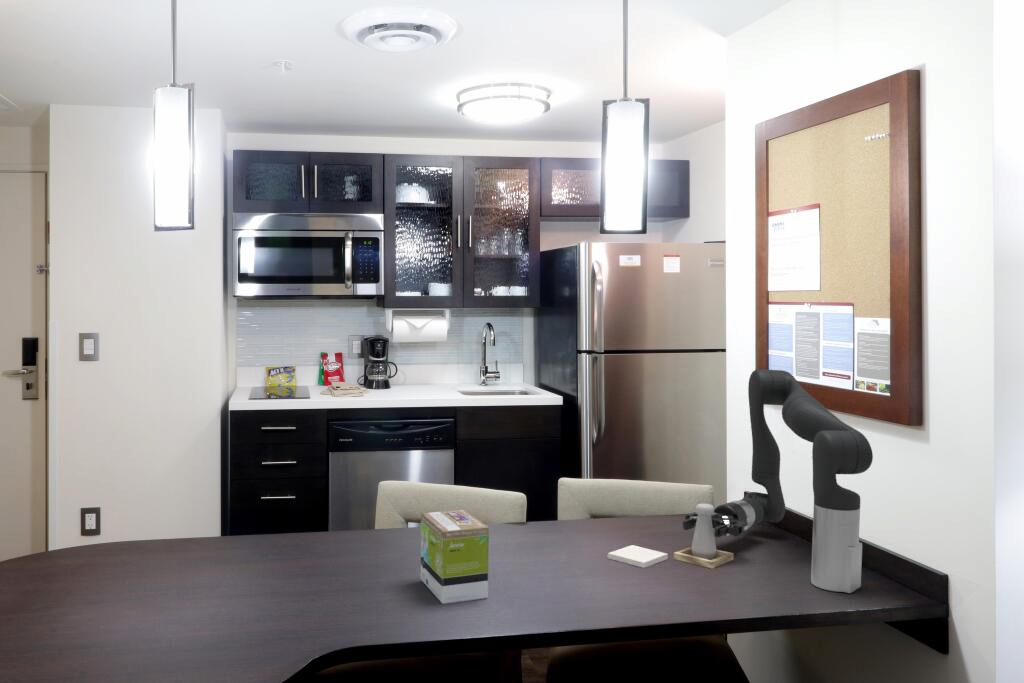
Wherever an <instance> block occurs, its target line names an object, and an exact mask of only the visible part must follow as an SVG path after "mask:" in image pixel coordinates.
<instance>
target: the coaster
mask: <svg viewBox="0 0 1024 683" xmlns="http://www.w3.org/2000/svg"><path fill="white" fill-rule="evenodd" d="M607 559H609V560H613V561H616V562H621V563H624V564H628V565H631V566H635V567H640V568H642V569H646V568H647V567H650V566H652V565H656V564H657V563H661V562H664V561H666V560H668V559H669V554H668V553H666V552H662V551H659V550H654V549H650V548H646V547H641V546H637V545H634V544H632V545H628V546H624V547H623V548H619V549H616V550H613V551H610V552H608V553H607Z"/></svg>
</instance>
